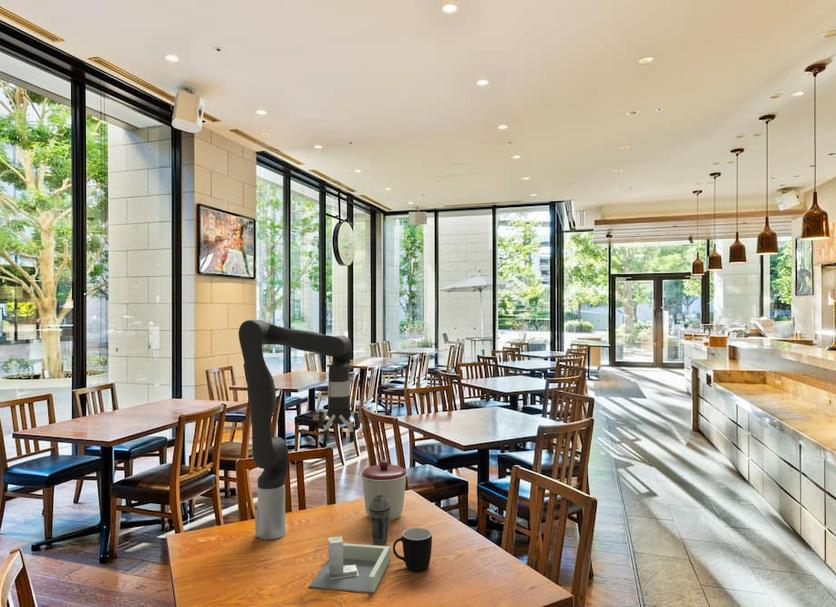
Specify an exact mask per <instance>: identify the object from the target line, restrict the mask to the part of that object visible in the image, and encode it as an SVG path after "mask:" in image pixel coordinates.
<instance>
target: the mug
mask: <svg viewBox="0 0 836 607" xmlns="http://www.w3.org/2000/svg"><path fill="white" fill-rule="evenodd" d="M399 542H401V543H402V550H403V552H402V553H403V556H402V555H400V554H398V552H397V550H396V546H397V543H399ZM432 545H433V533H432V531H431V530H430V529H428V528H424V527H410V528H408V529H407V528H406V529H405V530H404V531H403V532H402V535H401V537H399V538H397V539H396V540H395V541H394V542H393V545H392V553H393V555H394V556H395V557H396V558H397V559H399V560H402V561H403V562H404V565H405V566H406V569H407V570H408V571H410V572H413V573H422V572H425V571H427V569H429V566H430V564H431V563H430V562H431V559H432V557H431V556H432Z"/></svg>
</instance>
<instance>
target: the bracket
mask: <svg viewBox="0 0 836 607" xmlns="http://www.w3.org/2000/svg"><path fill="white" fill-rule="evenodd" d="M327 541H328V543H327V546H328V551H327V552H328V554H327V555H328V559H327V561H328V560H329V579H330V578H338V577H346V576H354V575H357V568H356V565H348V566H343V543H344V540H343V536H342V535H341V536H333V537H332V536H331V537H328V539H327Z"/></svg>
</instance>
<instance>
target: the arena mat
mask: <svg viewBox="0 0 836 607" xmlns="http://www.w3.org/2000/svg"><path fill="white" fill-rule="evenodd" d="M376 562H377V561H368V560H355V559H343V566H348V565H356V568H357V575H354V576H346V577H338V578H330V579H329V560H328V559H327V561H326V563H325V564H324V565H323V566H322V568H321V569H320V570H319V571H318V573H317V574H316V575H315V577H314V579H313V580H312V581H311V582H310V584H309V585H308V589H320V590H321V589H322V590H332V591H341V592H342V591H343V592H352V593H353V592H354V593H356V592H357V593H365V594H375V592H376V591H377V588H378V586H379V585H380V583H381V581H382V578H383V577H384V575H385V573H383V575H382V578H381V579H380V580H381V581H380V582H379V583H378V585H377V587H376V589H375V591H374V593H373V592H372V593H371V592H369V575H370V573H371V571H372V570H373V568H374V566H375V564H376ZM390 563H391V560H390V561H389V563H388V565H387V567H386V569H385V570H386V571H387V569H388V566H389V565H390ZM386 571H384V572H386Z"/></svg>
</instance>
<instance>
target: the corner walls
mask: <svg viewBox="0 0 836 607" xmlns="http://www.w3.org/2000/svg"><path fill="white" fill-rule="evenodd" d="M343 559H355V560H368V561H377V562H376V564H375V566H374V568H373V570H372V571H371V573H370V575H369V592H371V593H370V594H375V593H374V591H375V589H376V587H377V585H378V583H379V582H380V583H381V581H382V579H381V578H383V577H382V575H383V573H384V574H385V572H386V571H387V569H386V567H387V565H388V563H389V561H390V562H391V546H390V545H389V546H388V545H387V546H385V545H375V544H360V543H347V542H343ZM389 564H390V563H389ZM388 566H389V565H388ZM387 568H388V567H387ZM385 569H386V570H385ZM384 571H385V572H384ZM383 576H384V575H383ZM380 579H381V580H380ZM380 583H379V584H380ZM378 586H379V585H378ZM377 588H378V587H377ZM376 590H377V589H376ZM372 592H373V593H372ZM375 592H376V591H375Z"/></svg>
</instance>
